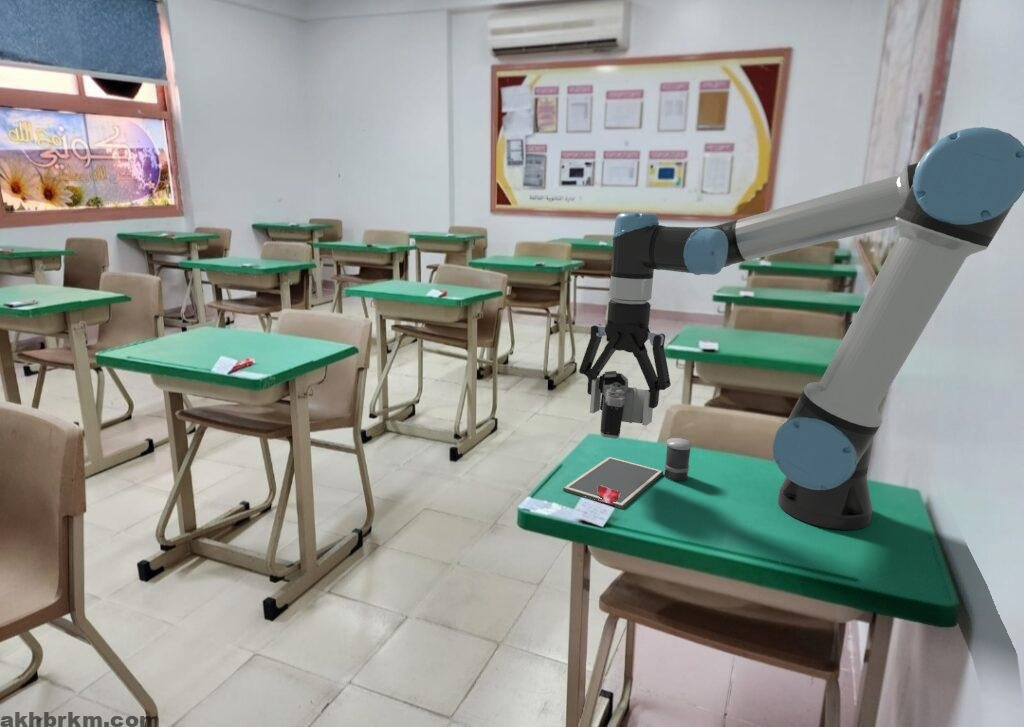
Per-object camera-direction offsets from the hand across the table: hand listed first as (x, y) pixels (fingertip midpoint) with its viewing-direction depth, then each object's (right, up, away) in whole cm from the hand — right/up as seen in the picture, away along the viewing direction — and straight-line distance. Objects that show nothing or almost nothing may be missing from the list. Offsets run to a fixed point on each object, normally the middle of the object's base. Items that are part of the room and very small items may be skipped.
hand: (620, 417), depth 122 cm
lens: (+12, -12, +6) cm, 18 cm away
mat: (-1, -13, +3) cm, 13 cm away
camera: (0, -2, 0) cm, 2 cm away
